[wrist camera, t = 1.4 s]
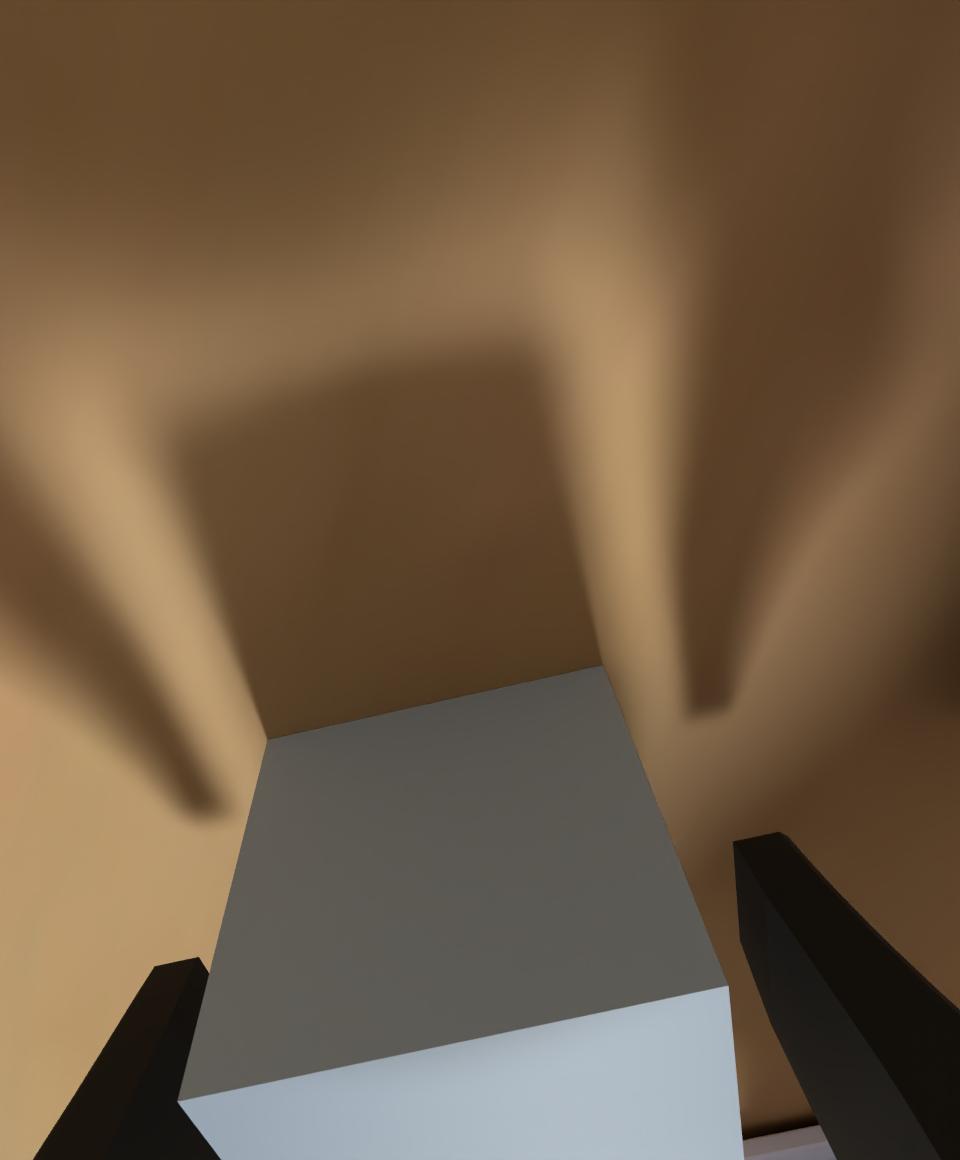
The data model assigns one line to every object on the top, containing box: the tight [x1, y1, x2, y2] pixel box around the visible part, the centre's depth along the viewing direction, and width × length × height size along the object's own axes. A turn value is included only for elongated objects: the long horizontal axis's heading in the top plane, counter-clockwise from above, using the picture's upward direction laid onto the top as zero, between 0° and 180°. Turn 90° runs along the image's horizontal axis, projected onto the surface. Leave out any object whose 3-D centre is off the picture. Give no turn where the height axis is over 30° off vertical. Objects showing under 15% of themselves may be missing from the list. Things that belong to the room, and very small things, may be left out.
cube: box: [177, 665, 744, 1160], centre depth 10 cm, size 5×5×5 cm
